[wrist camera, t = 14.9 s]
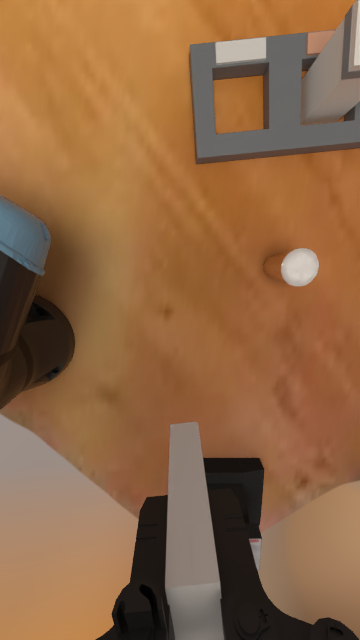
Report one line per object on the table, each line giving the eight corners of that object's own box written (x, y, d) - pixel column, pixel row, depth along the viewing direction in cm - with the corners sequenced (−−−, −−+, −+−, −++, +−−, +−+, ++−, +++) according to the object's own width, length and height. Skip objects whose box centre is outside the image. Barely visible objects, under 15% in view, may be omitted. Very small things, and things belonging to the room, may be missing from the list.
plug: (299, 125, 32) (353, 66, 22) (300, 80, 31) (358, -4, 21) (337, 121, 32) (406, 60, 22) (339, 76, 31) (414, -10, 21)
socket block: (196, 164, 33) (197, 157, 31) (189, 58, 30) (190, 42, 28) (360, 147, 33) (373, 139, 31) (369, 40, 30) (384, 22, 28)
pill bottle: (256, 248, 36) (286, 243, 26) (291, 253, 36) (333, 249, 26) (251, 278, 37) (277, 284, 27) (284, 282, 37) (322, 290, 27)
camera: (292, 529, 32) (284, 617, 34) (257, 453, 46) (252, 519, 49) (176, 529, 32) (175, 618, 34) (176, 453, 46) (175, 519, 48)
